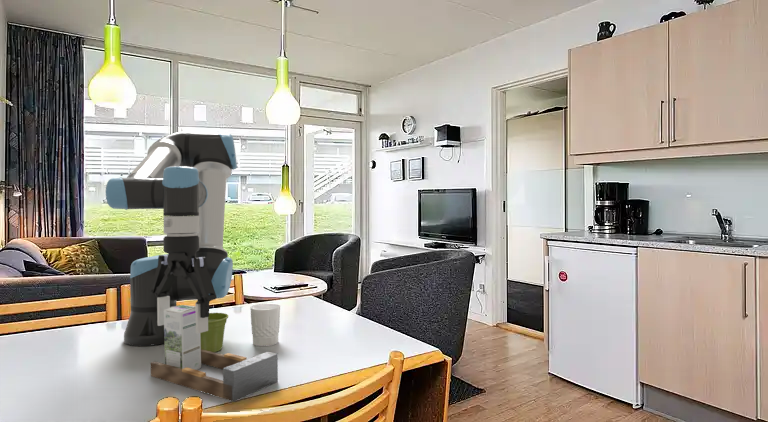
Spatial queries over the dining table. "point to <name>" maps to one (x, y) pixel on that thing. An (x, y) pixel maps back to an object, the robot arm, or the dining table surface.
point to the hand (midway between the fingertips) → (182, 328)
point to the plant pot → (214, 332)
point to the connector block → (251, 375)
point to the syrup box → (181, 337)
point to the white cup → (265, 324)
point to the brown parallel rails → (199, 373)
